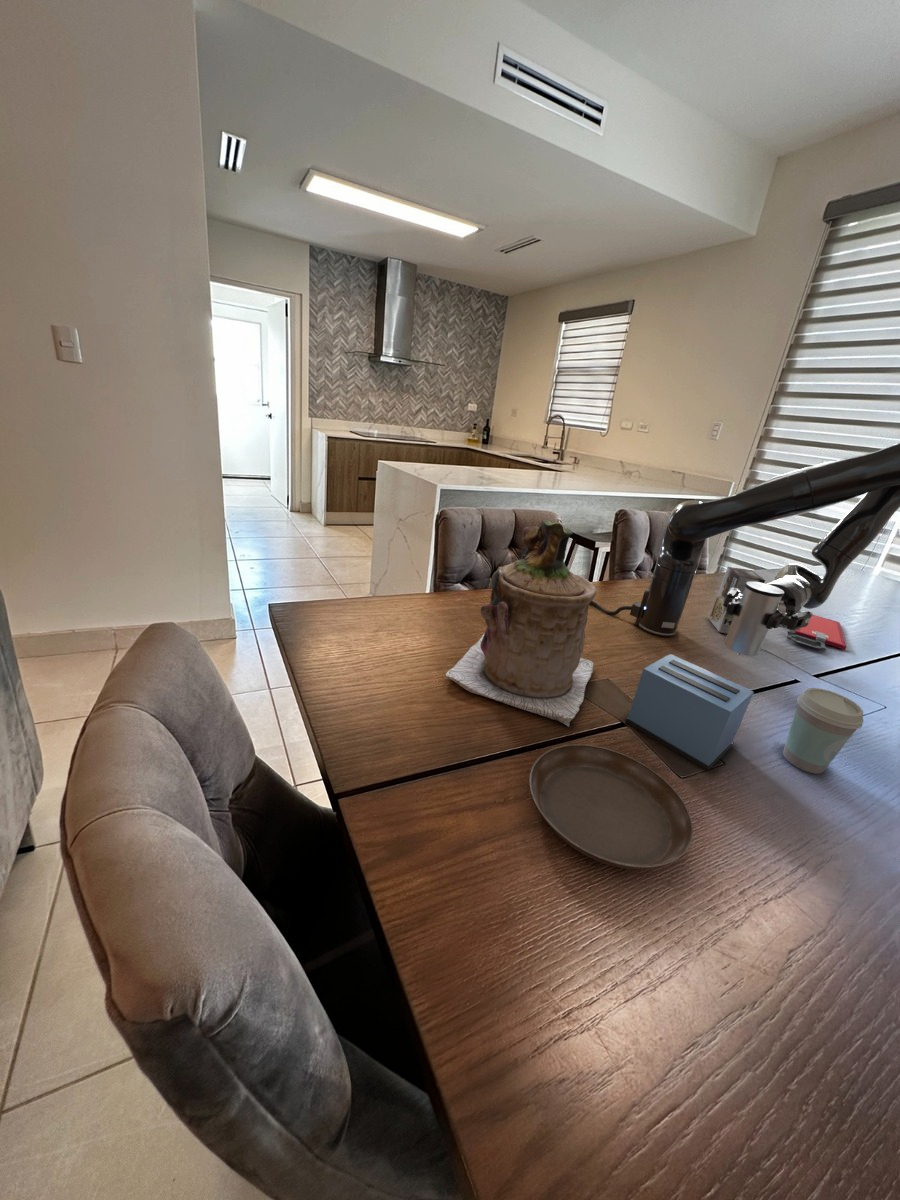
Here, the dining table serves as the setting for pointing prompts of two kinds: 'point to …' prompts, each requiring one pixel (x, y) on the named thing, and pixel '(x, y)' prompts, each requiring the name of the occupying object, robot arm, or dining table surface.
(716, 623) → the coffee box
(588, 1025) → the dining table surface
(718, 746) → the toaster
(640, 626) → the robot arm
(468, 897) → the dining table surface
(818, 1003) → the dining table surface
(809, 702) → the coffee cup
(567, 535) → the cookie jar
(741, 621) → the canister
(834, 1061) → the dining table surface
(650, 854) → the plant saucer
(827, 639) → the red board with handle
